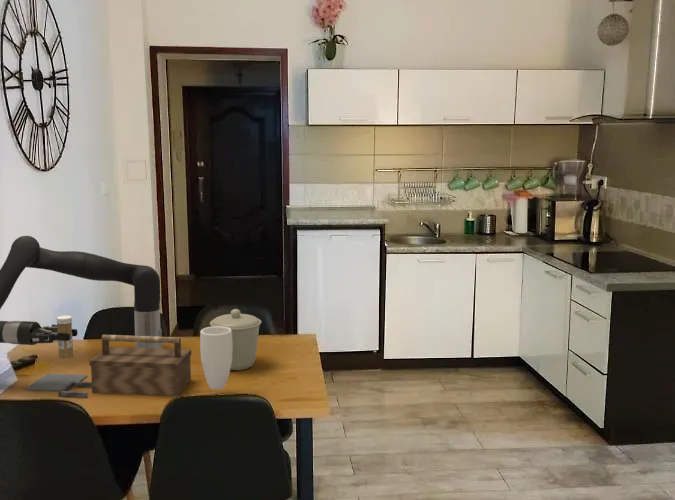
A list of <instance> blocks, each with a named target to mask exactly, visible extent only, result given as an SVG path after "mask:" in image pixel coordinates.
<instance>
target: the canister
mask: <svg viewBox="0 0 675 500" xmlns="http://www.w3.org/2000/svg"><path fill="white" fill-rule="evenodd" d="M261 324H262V320H261V319H260V318H258V317H256V316H255V315H252V314H247V313H242V312H241V310H240V309H238V308H234V309H231V310H230V313H227V314H222V315H219V316H217V317H215V318H214V319H212V320H211V321H210V322H209V325H210V327H213V326H223V327H228V328H230V329H231V330H232V343H233V350H232V363H231V368H230V371H232V370H235V371H236V370H237V371H243V370H242V369H244V370H247V369H249V367H250V368H251V367H252V366H253V365H254V364H255V361H256V358H257V351H258V350H257V349H258V343H259V342H258V341H259V330H260V325H261Z"/></svg>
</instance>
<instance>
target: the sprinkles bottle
mask: <svg viewBox="0 0 675 500" xmlns="http://www.w3.org/2000/svg"><path fill="white" fill-rule="evenodd" d="M72 324H73V316H72V315H59V316H57V317H56V325H58V333H67V334H70V340H69V341H60V340H58V341H57V348H58V359H61V360H68V359H69V360H70V359H72V358H73V357H74V349H73V346H74V344H73V340H74V339H73V336H72V329H73V327H72Z"/></svg>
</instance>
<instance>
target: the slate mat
mask: <svg viewBox="0 0 675 500" xmlns="http://www.w3.org/2000/svg"><path fill="white" fill-rule="evenodd" d="M87 378H88V375H87V374H69V373H68V374H67V373H46V374H44V375H43V376H42V377H40V378H39V379H37V380H36V381H34V382H33V383H31V384H30V385H28V386H27V387H25V391H36V392H37V391H40V392H59V391H60V390H62V389H63V388H64V387H66V386H67V385H68V384H70V383H71V382H72V381H73V382H84V380H85V379H87ZM74 388H75V387H74V386H72V387H71V388H70V389H69V390H68V391H71V390H73V389H74Z"/></svg>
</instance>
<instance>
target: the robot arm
mask: <svg viewBox="0 0 675 500" xmlns="http://www.w3.org/2000/svg"><path fill="white" fill-rule="evenodd" d="M26 268H31V269H41V270H47V271H52V272H57V273H61V274H63V275H69V276H73V277H77V278H80V279H84V280H85V279H86V280H91V281H97V282H98V281H101V282H103V281H104V282H118V283H123V284H127V285H130V286H133V290H134V291H133V292H134V296H133V297H134V302H133V310H134V311H133V313H134V315H133V316H134V336H155V337H163V336H162V334H163V332H162V328H161V307H160V306H161V279H160V275H159V274H158V272H157V270H156V269H154V268H153V267H152V266H150V265H144V264H142V265H141V264H136V263H135V264H134V263H127V262H122V261H118V260H115V259H112V258H109V257H106V256H101V255H98V254H94V253H90V252H85V251H78V250H75V251H73V250H71V251H69V250H67V251H65V250H64V251H62V250H61V251H59V250H58V251H57V250H51V249H47V248H44V247H41V245H40V242H39V241H38V240H37V239H36V238H35V237H33V236H31V235H22V236H19V237H17V238H16V239H14V241H13V242H12V244H11V247H10V249H9V251H8V255H7V257H6V258H5V260H4V263H3V265H2V266H1V268H0V310H1V309H2V307H3V306H4V304H5V303H6V301H8V298H9V296H10V295H11V292H12V290H13V288H14V287H15V284H16V282H17V281H18V279H19V277H20V276H21V274H22V273H23V272H24V270H25V269H26ZM77 336H78V329H76V328H72V337H77ZM58 340H60V341H69V340H70V334H67V333H58V325H57V324H53V323H52V324H51V326H48V325H47V326H46V325H45V326H43V327H42V326H41V325H40V323H39V322H37V321H30V320H29V321H28V320H10V321H9V320H8V321H7V320H0V343H1V344H11V345H22V346H23V345H24V346H35V345H37V344H52V343H54V342H58ZM134 343H135V348H154V349H163V343H149V342H134Z"/></svg>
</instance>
